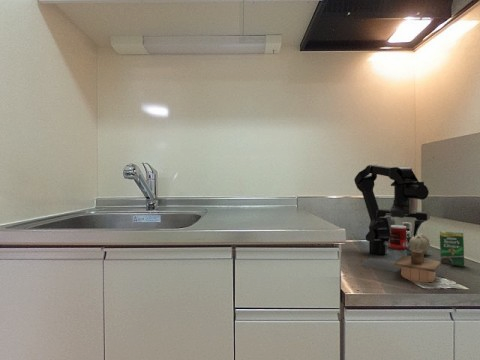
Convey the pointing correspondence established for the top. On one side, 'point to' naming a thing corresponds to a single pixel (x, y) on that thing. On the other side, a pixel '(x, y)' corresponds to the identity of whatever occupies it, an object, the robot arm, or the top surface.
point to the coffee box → (452, 248)
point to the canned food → (398, 237)
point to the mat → (381, 264)
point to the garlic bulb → (419, 243)
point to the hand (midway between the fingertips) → (401, 235)
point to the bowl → (417, 274)
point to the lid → (418, 261)
